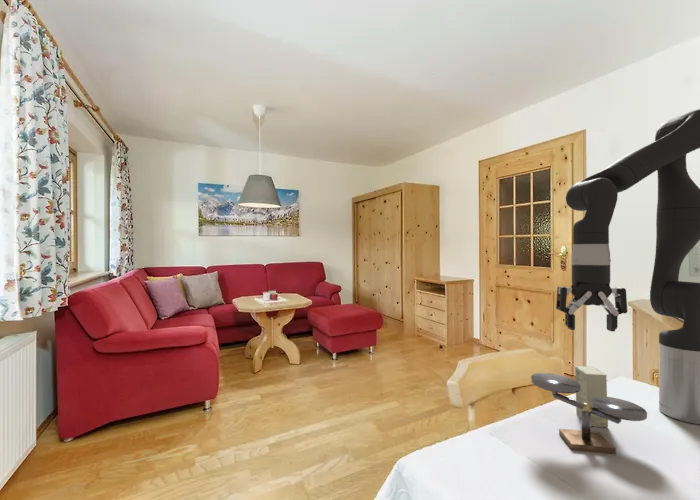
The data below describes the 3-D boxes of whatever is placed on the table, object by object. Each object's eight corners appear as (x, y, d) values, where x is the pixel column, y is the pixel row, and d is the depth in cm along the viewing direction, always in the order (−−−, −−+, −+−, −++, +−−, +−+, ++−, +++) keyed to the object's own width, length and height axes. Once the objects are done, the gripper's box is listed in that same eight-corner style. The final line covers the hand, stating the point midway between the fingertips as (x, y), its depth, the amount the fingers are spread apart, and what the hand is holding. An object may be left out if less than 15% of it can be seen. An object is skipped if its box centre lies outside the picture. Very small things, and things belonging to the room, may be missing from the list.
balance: (629, 437, 73) (629, 378, 73) (658, 463, 64) (658, 396, 64) (525, 427, 77) (525, 371, 77) (539, 450, 68) (539, 387, 68)
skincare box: (608, 428, 76) (608, 375, 76) (587, 426, 77) (586, 374, 77) (594, 414, 83) (594, 366, 83) (574, 413, 83) (574, 365, 83)
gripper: (614, 262, 82) (614, 327, 82) (551, 262, 85) (552, 325, 85) (634, 263, 75) (634, 335, 75) (564, 263, 78) (565, 332, 78)
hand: (590, 330), depth 80 cm, fingers open, 8 cm apart
